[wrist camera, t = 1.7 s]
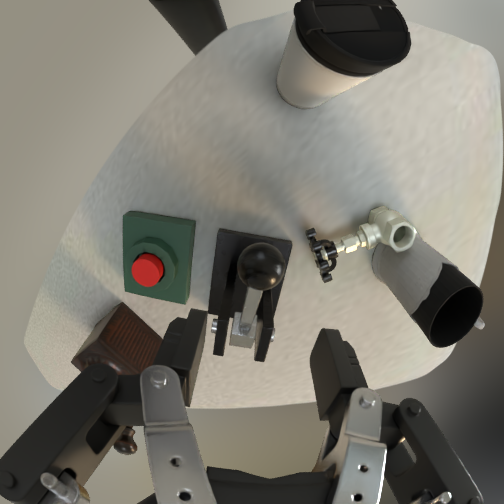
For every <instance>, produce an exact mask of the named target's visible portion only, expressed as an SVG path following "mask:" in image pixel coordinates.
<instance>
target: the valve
mask: <svg viewBox="0 0 504 504" xmlns="http://www.w3.org/2000/svg"><path fill="white" fill-rule="evenodd" d="M305 233H306V236H307V238H308V240H309V241H310V243H309V245H310V248H311V251H312V252H313V254H314V257H315V262H316V265H317V267H318V268H319V269H320V275H321V278H322V280H323V281H324V283H326V282H329V281H331V280H332V276H331V274H329V273H328V272H330V271H332V270H333V269H334V268H335V267H336V259H335V258H337V257H338V252H341V251H343V250H344V251H345V252H346V253H349V252H352V251H354V250H357V246H358V245H360V246H361V247H366V249H367V250H370V249H372V248H375V247H376V244H377V243H379V242H382V243H383V244H385V245H389V246H391V247H392V248H393V249H394V250H395V251H396V252H397V253H398V252H402V251H404V250H407V249H409V248H410V247H411V246H412V244H413V242H414V238H415V234H416V230H415V229H414V228H413V226H412V225H411V224H410V223H409V222H408V221H407V220H406V219H405V218H404V217H403V216H402V215H401V214H400V213H399V212H397V211H394V210H389V209H388V208H386V207H385V206H381V207H378V208H376V209H373V210H371V212H370V215H369V219H368V223H366V224H363V225H361V226H359V231H358V232H356V236H354V237H353V236H352V235H351V234H350V235H347V236H345V237H342V238H341V242H340V243H337V244H334V242H333V241H329V240H318V241H316V239H315V237H314V235H316V231H315V229H314V228H312V229H309V230H306V232H305ZM329 260H331V262H332V265H331V266H330V267H329V264H328V261H329Z"/></svg>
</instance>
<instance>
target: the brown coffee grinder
mask: <svg viewBox="0 0 504 504" xmlns="http://www.w3.org/2000/svg"><path fill="white" fill-rule="evenodd" d="M162 340H163V339H162V338H161V337H160V336H159V335H158V334H157V333H155V332H154V331H153V330H152V329H151V328H150V327H149V326H148V325H147V324H146V323H145V322H144V321H143V320H142V319H140V318H139V317H138V316H137V315H136V314H135V313H134V312H133V311H131V310H130V309H129V308H128V307H127V306H126V305H125V304H124V303H123V302H122V303H120V304H119V305H117V306H116V307H115V308H113V309H112V310H111V311H110V312H109V313H108V314H107V315H106V316H105V317H104V318H103V319H102V320H100V321H99V322H98V323H97V324H96V326H95V328H94V330H93V331H92V332H91V334H90V335H89V337H88V338H87V339H86V341H85V342H84V343H83V345H82V346H81V348H80V349H79V351H78V352H77V353H76V355H75V356H74V357H73V359H72V361H71V363H72V364H73V365H74V366H75V367H76V368H77V369H79V370H80V371H81V372H82V371H83V370H84V369H85V368H87V367H88V366H90V365H92V364H96V363H102V364H107V365H109V366H111V367H112V368H113V369H114V370H115V371H116V373H117V375H136V374H140V373H142V372H143V370H145V369H146V368H148V367H150V366H152V364H153V361H154V359H155V357H156V354H157V352H158V349H159V347H160V345H161V342H162ZM132 427H133V426H126V427H125V429H124V430H123V432H122V433H121V434H120V436H119V437H118V439H117V440H116V441H115V443H114V444H113V445H114V449H116V450H117V451H118V452H119V453H122V454H125V455H131V454H134V453H135V452H136V451H137V445H136V443H135V442H134V440H133V435H134V434H135V431H134V430H133V429H132Z"/></svg>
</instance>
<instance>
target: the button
mask: <svg viewBox="0 0 504 504" xmlns="http://www.w3.org/2000/svg"><path fill="white" fill-rule="evenodd" d="M163 272H164V267H163V263H162V262H161V260H160V259H159V258H158V257H157V256H155V255H153V254H150V253H146V254H143V255H141V256H140V257H139V258H138V259H137V260H136V261H135V262H134V264H133V265H132V275H133V277H134V279H135V280H136V281H137V282H138V283H139V284H141V285H143V286H146V287H151V286H154V285H155V284H157V282H158V281H159V279H160V278H161V276H162V275H163Z"/></svg>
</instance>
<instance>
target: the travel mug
mask: <svg viewBox="0 0 504 504" xmlns="http://www.w3.org/2000/svg"><path fill="white" fill-rule="evenodd" d="M396 6H397V5H396V4H395V3H394V2H393V1H392V0H301V1H300V2H297V3H296V4H295V6H294V15H295V18H294V21H293V24H292V27H291V31H290V34H289V37H288V41H287V44H286V48H285V51H284V54H283V58H282V61H281V65H280V68H279V72H278V75H277V89H278V91H279V93H280V95H281V97H282V98H283V99H284V100H285V101H286V102H287V103H289V104H290V105H292V106H294V107H297V108H301V109H311V108H315V107H318V106H319V105H321V104H323V103H325V102H326V101H328V100H330V99H332V98H333V97H335V96H337V95H339V94H341V93H342V92H344V91H346V90H348V89H350V88H352V87H353V86H355V85H357V84H359V83H361V82H363V81H365V80H367V79H369V78H371V77H373V76H375V75H377V74H379V73H381V72H382V71H383V70H385V69H387V68H389V67H391V66H393V65H395V64H397V63H399V62H401V61H402V60H403V59H404V58H405V57H406V56H407V54H408V53H409V50H410V47H411V38H410V32H408V27H407V25H406V22H405V20H404V18H403V17H402V14H401V13H400V11H399V10H398V9H397V8H396Z"/></svg>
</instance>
